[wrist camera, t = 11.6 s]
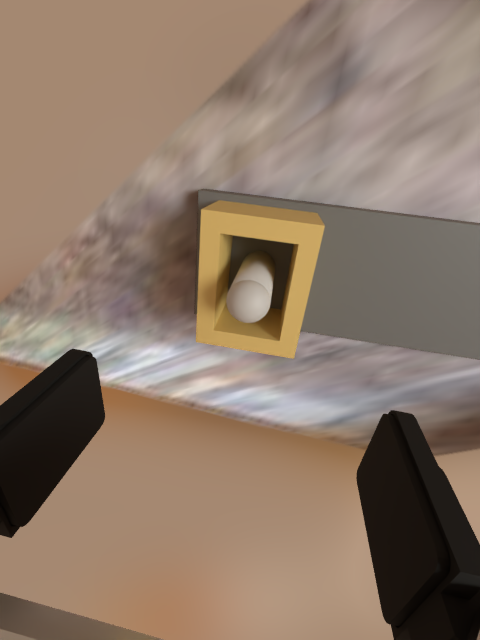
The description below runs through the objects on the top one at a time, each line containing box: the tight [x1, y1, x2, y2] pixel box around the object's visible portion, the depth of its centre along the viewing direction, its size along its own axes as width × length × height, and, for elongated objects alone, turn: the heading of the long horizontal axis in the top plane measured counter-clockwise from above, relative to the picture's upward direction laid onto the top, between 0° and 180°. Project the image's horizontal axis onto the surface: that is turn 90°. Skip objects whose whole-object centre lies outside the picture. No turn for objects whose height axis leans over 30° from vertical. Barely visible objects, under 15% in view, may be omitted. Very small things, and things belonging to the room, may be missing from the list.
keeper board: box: [195, 189, 480, 360], centre depth 20 cm, size 24×10×9 cm, turn 84°
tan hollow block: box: [196, 200, 325, 359], centre depth 21 cm, size 7×9×5 cm
